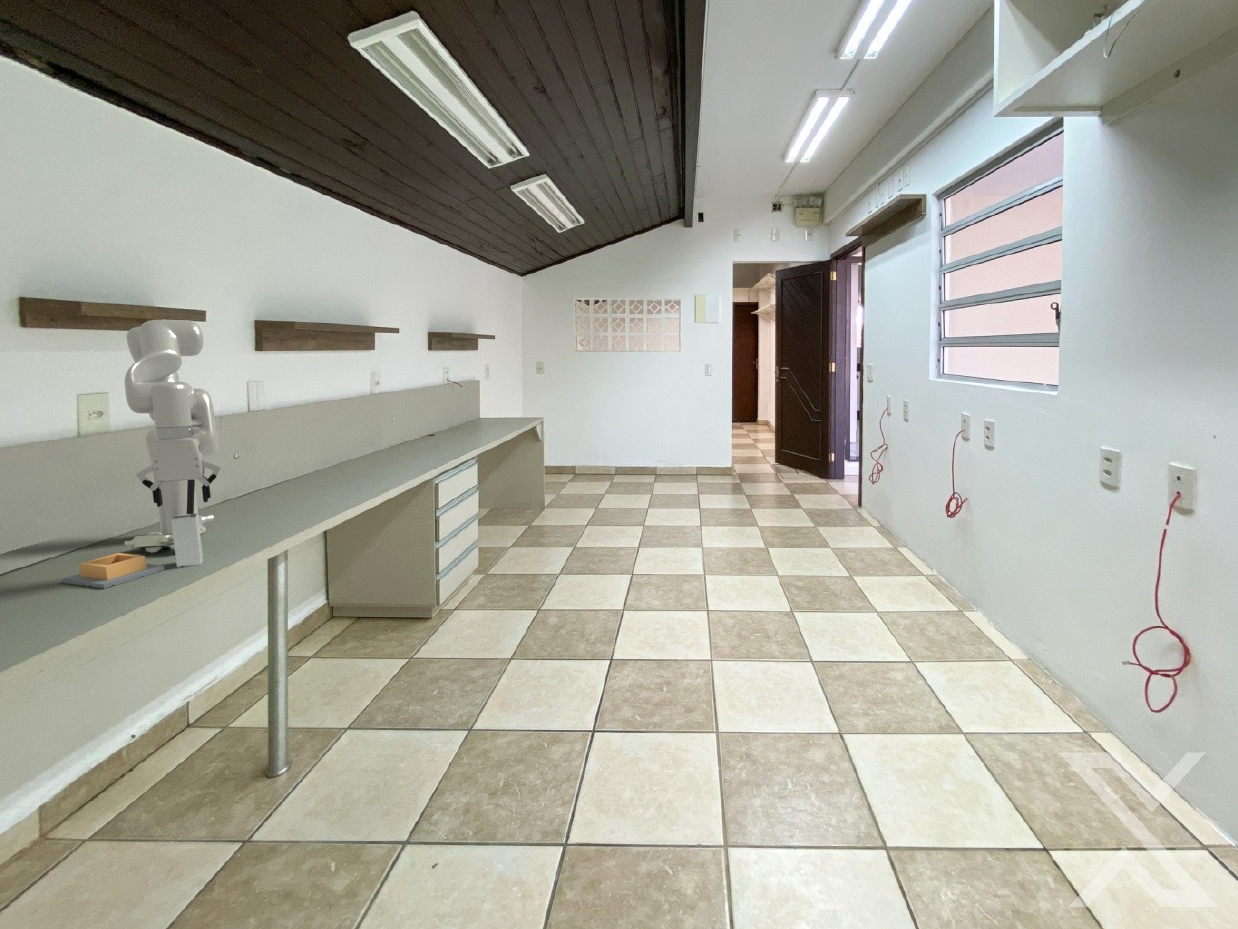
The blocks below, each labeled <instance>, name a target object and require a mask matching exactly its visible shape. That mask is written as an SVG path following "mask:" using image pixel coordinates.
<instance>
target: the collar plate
mask: <svg viewBox="0 0 1238 929" xmlns="http://www.w3.org/2000/svg"><path fill="white" fill-rule="evenodd" d="M78 565H79V566H78V567H79V573H76V574H73V575H70V576H66V577H62V578H61V581H62V583H63V584H69V585H76V586H82V585H85V586H84V587H88V586H92V587H91V588H95V587H97V589H102V588H104V589H108V588H107V587H109V588H111V587H110V586H112V585H115V586H118V585H122V584H124V583H127V581H128V582H131V581H134V580H138V579H140V578H139V577H141V578H143V577H142V576H144V577H147V576H150V575H152V574H156V573H160V572H162V571H165V566H164V565H159V564H152V563H151V564H149V563H147V562H146V556H145V555H140V554H139V555H138V554H130V553H122V552H117V553H114V554H110V555H106V556H103V557H99V558H95V559H91V560H87V561H84V562H81V563H78ZM159 571H160V572H159ZM112 587H113V586H112ZM104 589H103V590H104Z"/></svg>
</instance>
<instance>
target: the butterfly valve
mask: <svg viewBox="0 0 1238 929" xmlns="http://www.w3.org/2000/svg"><path fill="white" fill-rule="evenodd" d="M195 482H196V479H194V480H188V482H187V514H194V492H195V491H196V484H195ZM124 546H130V547H131V548H133V549H138V550H146V551H147V552H148V553H158V552H160V551H161V550H162V549H170V548H174V538H173V536H171V535H162V534H161V533H160V532H158V531H154V530H153V531H151V532H149V533H147V534H144V535H143V534H142V535H138V536H137V535H136V536H134V538H132V539H131V540H125V541H124Z"/></svg>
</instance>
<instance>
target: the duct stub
mask: <svg viewBox="0 0 1238 929" xmlns="http://www.w3.org/2000/svg"><path fill="white" fill-rule="evenodd" d="M198 515H199V512H198V513H196V514H185V515H175V516H174V517H173V518H172V519H171V522H172V530H173V538H174V545H173V547H174V553H175V560H176V561H175V562H176V568H182V567H181V566H185V567H191V566H192V567H193V566H200V565H202V563H203V560H204V554H203V546H202V536H201V534H200V527H199V518H198Z"/></svg>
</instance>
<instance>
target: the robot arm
mask: <svg viewBox="0 0 1238 929" xmlns="http://www.w3.org/2000/svg"><path fill="white" fill-rule="evenodd" d="M203 335H204V333H203V331H202V329H201V327H200V325H198V323H197V322H195V321H194V320H189V319H183V320H182V319H152V320H147V321H145V322H143V323H142V324H141V325H140V326H136V327H133V328H131V329H129V330H128V331H127V333H126V341H127V342H126V343H127V346H128V350H129V353H130V355H131V357H132V359H133V361H134V362H133V363H132V364H131V366H130V367H128V369H127V371H126V372H125V376H124V388H125V390H124V391H125V399H126V402H127V405H128V407H129V409H130V410H131V411H132V412H133V413H137V414H148V415H149V417H150V418H151V420H152V421H154V426H155V427H154V428H151V429H150V430H148V432H147V433H146V434H145V445H146V449H147V452H148V455H149V459H150V463H151V465H149V466H148V467H146V468H144V469H142V470H140V471H138V472H137V473H136V474H135V475H136V477H137V478H138V480H139V481H140V482H141V483H142V485H144V486H145V487H146V488H148V489H149V490H150V491H152V499H153V503H154V504H156V507H157V511H158V519H159V527H160V530H158V531H157V532H160V533H161V534H162V535H171V536H173V530H172V522H171V519H172V518H173V517H174V516H175V515H185V514H187V482H188V480H194V479H195V480H197V481H199V482H200V483H201V484H202V486H201V491H202V501H203V503H208V501H209V499H211V498H212V497H211V496H212V495H211V488H210V487H211V486H210V485H211V484H212V483H213V482H214V481H215V479H216V478H217V476H218V475H219V473H220V470H221V466H220V465H217V464H213V463H211V462H207V461H205V460H204V458H203V457H211V456H214V455H216V454H217V453H218V451H219V436H218V431H217V430H218V429H217V423H216V417H215V416H216V415H215V409H214V406H213V400H212V397H211V395H210V393H209V392H208V391H207V390H206V389H204V388H196V387H195V388H193V387H192V386H191V384H189V383H187V382H185V381H180V378H179V373H178V371H179V370H180V369H181V366H182V362H183V360H182V357H195V356H198V355H199V354H200V352H201V351H202V350H203V347H204V336H203ZM193 422H194V423H195V424H193ZM205 468H206V469H209V470H211V471H212V472H211V475H210V476H209V477H208V478H207V477H206V476H205ZM151 472H152V473H153V474H152V475H153V479H154V482H153V481H151V480H150V479H149V478H147V475H148V474H149V473H151ZM196 513H198V518H199V527H200V535H202V534H204V533H206V531H207V526H205V524H206V523H210V522H213V521H214V520H215V516H214V515H213V514H208V515H204V516H203V515H199V510H198V500H197V493H196V490H195V492H194V514H196Z"/></svg>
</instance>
